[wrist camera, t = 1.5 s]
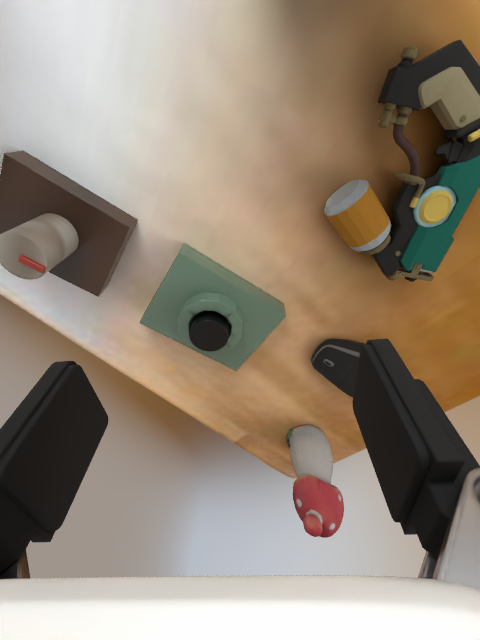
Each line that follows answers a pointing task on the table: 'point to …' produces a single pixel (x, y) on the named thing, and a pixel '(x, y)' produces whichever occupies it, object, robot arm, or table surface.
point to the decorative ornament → (314, 482)
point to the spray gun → (417, 193)
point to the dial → (37, 245)
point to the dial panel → (75, 206)
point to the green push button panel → (212, 306)
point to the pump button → (209, 331)
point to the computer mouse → (338, 363)
